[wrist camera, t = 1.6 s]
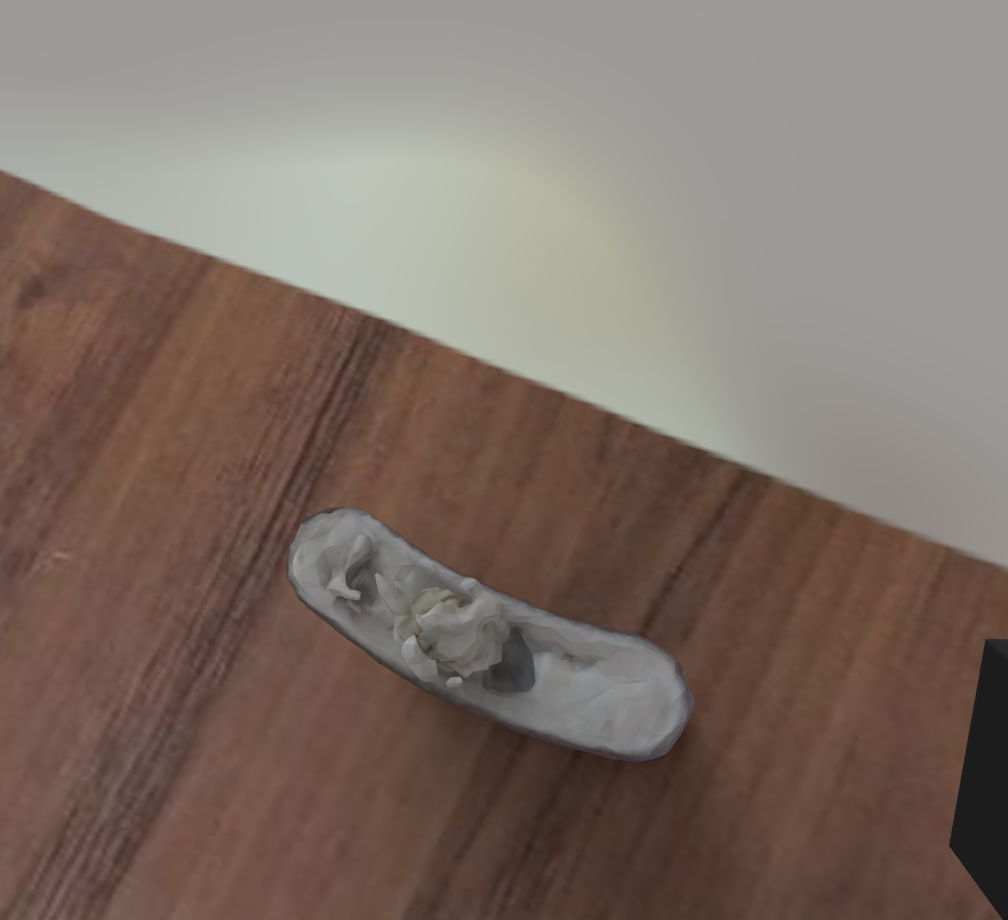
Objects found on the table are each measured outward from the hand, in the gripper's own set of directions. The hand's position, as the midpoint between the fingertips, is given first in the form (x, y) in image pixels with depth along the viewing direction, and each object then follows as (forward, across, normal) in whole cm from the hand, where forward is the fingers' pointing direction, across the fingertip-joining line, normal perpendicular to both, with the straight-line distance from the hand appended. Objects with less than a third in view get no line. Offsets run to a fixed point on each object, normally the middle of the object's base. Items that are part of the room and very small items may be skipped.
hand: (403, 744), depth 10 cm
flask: (+14, +2, -7) cm, 16 cm away
